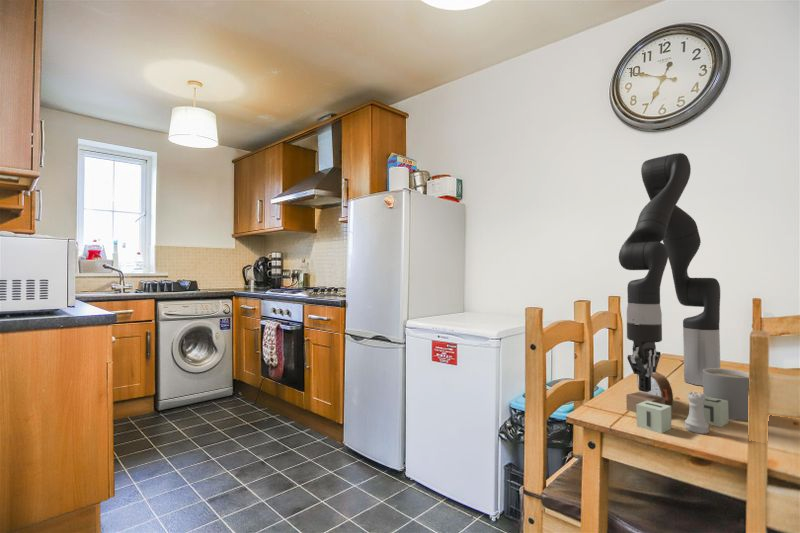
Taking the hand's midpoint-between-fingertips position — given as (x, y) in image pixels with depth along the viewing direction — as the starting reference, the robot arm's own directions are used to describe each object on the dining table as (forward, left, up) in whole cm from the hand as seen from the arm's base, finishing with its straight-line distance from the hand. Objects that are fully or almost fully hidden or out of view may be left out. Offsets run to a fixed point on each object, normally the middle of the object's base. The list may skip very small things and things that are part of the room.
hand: (645, 391), depth 100 cm
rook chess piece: (+4, +12, -5) cm, 14 cm away
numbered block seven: (-5, +12, -5) cm, 14 cm away
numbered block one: (+10, +6, -5) cm, 13 cm away
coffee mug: (-17, +12, -5) cm, 21 cm away
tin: (-9, -2, -5) cm, 11 cm away
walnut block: (0, 0, -5) cm, 5 cm away
